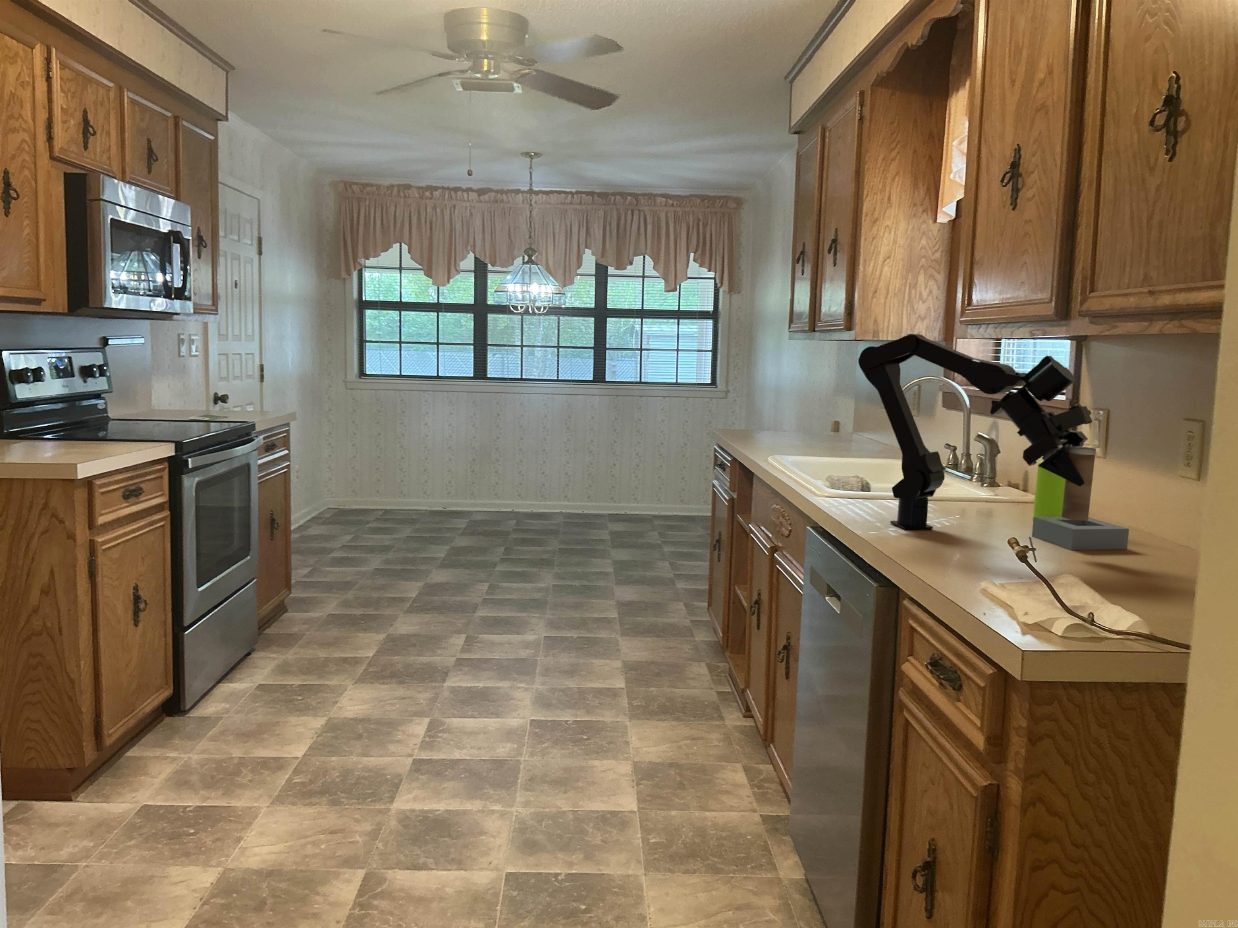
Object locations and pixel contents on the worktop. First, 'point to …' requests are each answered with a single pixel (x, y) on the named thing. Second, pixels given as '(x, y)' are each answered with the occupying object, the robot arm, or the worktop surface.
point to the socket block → (1080, 533)
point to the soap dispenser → (1048, 494)
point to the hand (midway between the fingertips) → (1086, 483)
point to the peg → (1075, 495)
